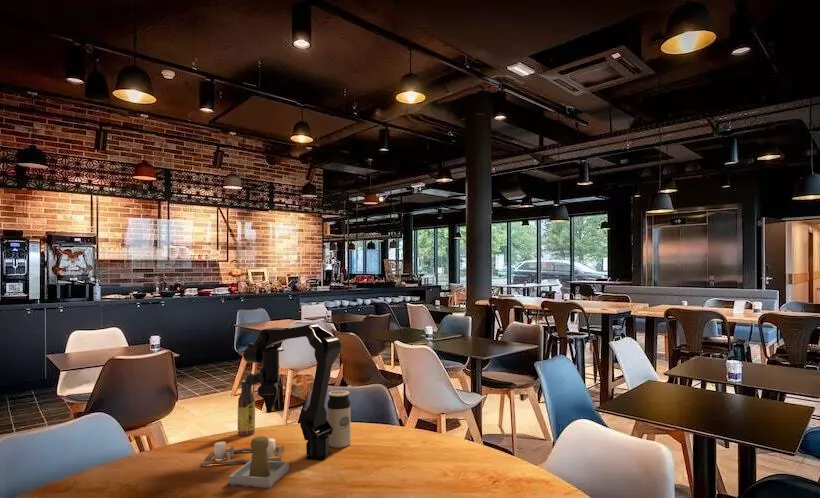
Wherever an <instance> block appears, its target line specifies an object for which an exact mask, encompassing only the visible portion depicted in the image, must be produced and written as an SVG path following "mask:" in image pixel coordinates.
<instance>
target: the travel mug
mask: <svg viewBox="0 0 820 498" xmlns="http://www.w3.org/2000/svg"><path fill="white" fill-rule="evenodd" d="M327 395H328V401H327V421H328V422H329V424H330V425H331V427H332V428H333V431H332V434H331V435H328V436H329V448H330V447H331V448H334V449H339V448H340V449H341V448H345V447H348V446H349V445H351V443H352V442H351V440H352V439H351V437H352V436H351V428H352V427H351V421H352V420H351V400H350V398H349V396H350V391H348V390H344V389H343V390H342V389H340V390H331V391H329V392H327Z"/></svg>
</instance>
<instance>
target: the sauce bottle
mask: <svg viewBox="0 0 820 498" xmlns="http://www.w3.org/2000/svg"><path fill="white" fill-rule="evenodd" d="M240 386H241V393H240V395H239V397H238V400H237V435H238V434H239V435H238V436H240V435H243V436H242V437H248V436H251V435H253V434H254V433H255V429H256V399H255V397H254V394H253V385H252V386H251V387H247V384H245V379H244V380H241V382H240ZM250 429H251V430H250ZM238 431H239V432H238ZM247 435H248V436H247Z"/></svg>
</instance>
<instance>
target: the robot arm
mask: <svg viewBox="0 0 820 498" xmlns="http://www.w3.org/2000/svg"><path fill="white" fill-rule="evenodd" d="M304 337H306V338H307V340H308V343H309V345H310V347H312V348H313V349H314V358H315V360H316V367H315V374H314V379H313V383H312V387H311V388H312V389H311V394H310V400H309V405H308V406H307V407H304V408H302V409H301V412H300V417H299V421H298V422H300V424H299V426H300V429H301V430H302V435H303V439H304V441H306V445H305V446H306V447H305V448H306V450H305V451H306V453H305V455H306V456H305V459H306V460H315V461H325V460H326V459H327V458H328V457H329V456H330V455H331V454H332V451H330V446H329V436H328V435H331V434H332V431H333V428H332V427H331V425H330V424H329V422H328V412H327V411H326V408H325V404H326V399H327V398H326V397H327V395H328V387H329V384H330V382H329V381H330V378H331V372H332V367H333V364H334V363H335V361H336V359H337V358H338V357H339V354H340V351H341V348H342V343H341V341H340V340H339V338H338V337H336V336H334V335H333V334H332V333H331V332H329V331H327V330H325V329H324V328H322V327H321V326H320V325H319V324H316V323H309V324H305V325H301V326H295V327H290V328H289V327H288V328H283V327H271V328H270V327H269V328H264V329H261V330H260V332H259V335H258V336H257V339H256V340H255V341H254V342H250V343H247V347H246V348H244V349H245V350H244V352H243V354H242V355H243V356H242V357H243V360H244V361H245V362H247V363H254V364H261V368H260V370H259V371H257V372H255V373H251V374H247V376H246V377H245V378H244V380H245V384H247V387H251V386H252V387H253V386H255V385H256V384H259V383H260V384H259V386H258V388H257V395H258V396H259V397H261V398H262V399H263V401H264V405H265V410H266V413H267V414H270V413H272V410H273V407H274V406H275V404H276V401H277V398H278V395H279V392H280V389H281V387H282V385H283V384H282V383H283V376H282V375H280V369H281V368H280V367H281V365H280V352H284V351H285V349H284V348H283V347H282V346H281V345H280V344H279V343H282V342H284V341H286V340H290V339H297V338H304Z"/></svg>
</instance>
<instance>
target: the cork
mask: <svg viewBox="0 0 820 498" xmlns="http://www.w3.org/2000/svg"><path fill="white" fill-rule="evenodd" d="M268 439H269V438H268V437H267V436H264V435H262V436H261V435H259V436H255V437H253V438H252V439H251V440H250V448H252V450H253V451H252V452H251V453H252V454H251V458H252V459H251V467H250V474H249V476H253V477H268V476H270V467H269V460H268V452H267V447H268V445H269V440H268Z"/></svg>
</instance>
